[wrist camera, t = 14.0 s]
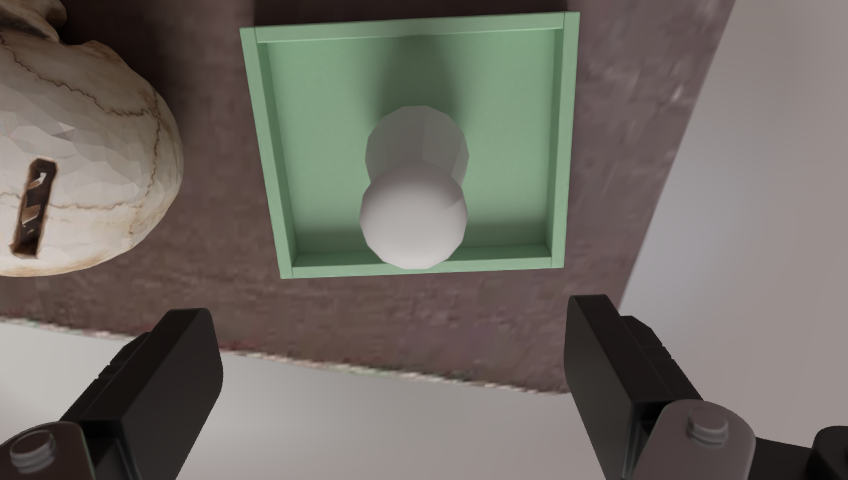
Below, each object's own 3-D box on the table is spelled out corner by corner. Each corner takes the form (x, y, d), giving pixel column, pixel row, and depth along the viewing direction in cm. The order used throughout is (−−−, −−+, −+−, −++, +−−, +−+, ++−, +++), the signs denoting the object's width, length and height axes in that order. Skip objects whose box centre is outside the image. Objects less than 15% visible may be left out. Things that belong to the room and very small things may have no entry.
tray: (290, 261, 36) (280, 279, 33) (253, 26, 30) (238, 27, 28) (554, 250, 36) (563, 268, 33) (568, 11, 30) (580, 11, 27)
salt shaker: (454, 201, 34) (470, 307, 22) (363, 185, 33) (328, 283, 21) (474, 108, 31) (505, 168, 19) (377, 89, 31) (347, 138, 19)
